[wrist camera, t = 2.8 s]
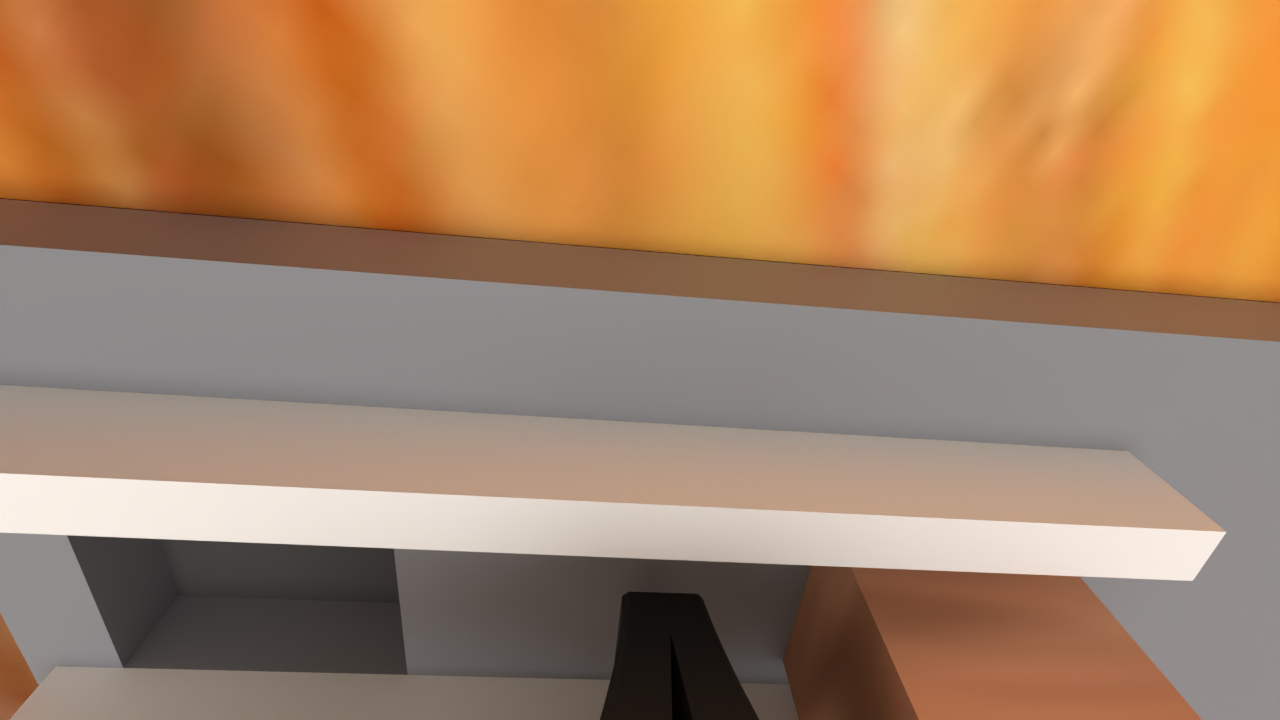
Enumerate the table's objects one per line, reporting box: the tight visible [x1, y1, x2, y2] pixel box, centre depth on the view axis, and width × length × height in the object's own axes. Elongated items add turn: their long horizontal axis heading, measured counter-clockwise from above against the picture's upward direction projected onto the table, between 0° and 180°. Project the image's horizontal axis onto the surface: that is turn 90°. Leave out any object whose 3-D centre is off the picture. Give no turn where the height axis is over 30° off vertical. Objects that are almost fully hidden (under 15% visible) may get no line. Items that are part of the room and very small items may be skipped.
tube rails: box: [0, 385, 1226, 720], centre depth 11 cm, size 8×20×2 cm, turn 84°
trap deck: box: [0, 199, 1280, 720], centre depth 13 cm, size 12×28×2 cm, turn 84°
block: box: [783, 566, 1202, 720], centre depth 11 cm, size 4×4×4 cm
